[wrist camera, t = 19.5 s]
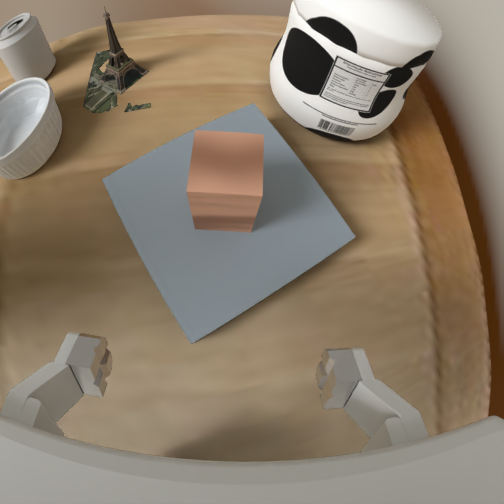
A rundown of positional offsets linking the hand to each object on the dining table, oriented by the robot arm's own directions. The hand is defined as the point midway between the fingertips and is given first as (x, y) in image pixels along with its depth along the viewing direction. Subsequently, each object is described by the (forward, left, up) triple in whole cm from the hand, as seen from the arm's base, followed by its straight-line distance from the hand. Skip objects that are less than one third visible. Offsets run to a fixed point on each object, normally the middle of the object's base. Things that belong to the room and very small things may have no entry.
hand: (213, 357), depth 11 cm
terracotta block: (+7, +10, -15) cm, 20 cm away
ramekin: (-10, +34, -20) cm, 41 cm away
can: (-6, +49, -20) cm, 53 cm away
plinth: (+7, +10, -19) cm, 23 cm away
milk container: (+28, +18, -20) cm, 39 cm away
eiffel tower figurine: (+6, +37, -20) cm, 42 cm away
